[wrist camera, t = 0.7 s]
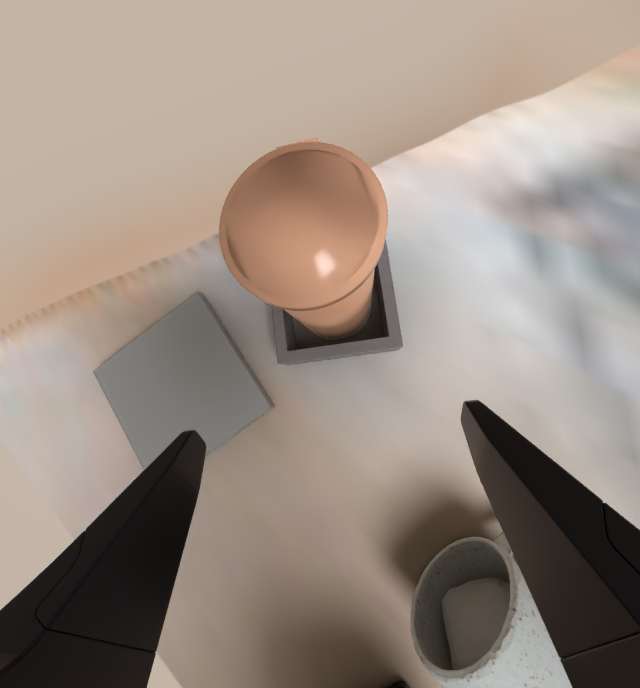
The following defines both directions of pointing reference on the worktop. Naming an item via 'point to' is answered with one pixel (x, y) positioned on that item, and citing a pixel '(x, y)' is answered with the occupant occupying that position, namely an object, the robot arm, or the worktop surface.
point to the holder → (388, 343)
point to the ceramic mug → (482, 621)
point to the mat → (182, 382)
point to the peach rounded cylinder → (307, 234)
